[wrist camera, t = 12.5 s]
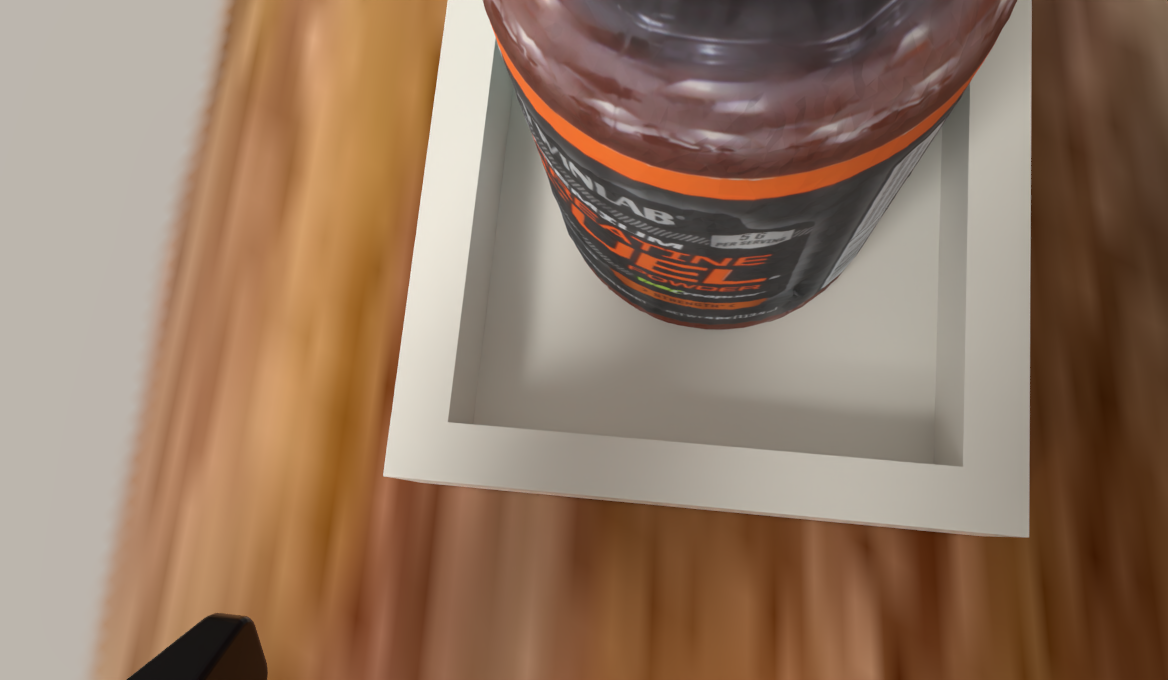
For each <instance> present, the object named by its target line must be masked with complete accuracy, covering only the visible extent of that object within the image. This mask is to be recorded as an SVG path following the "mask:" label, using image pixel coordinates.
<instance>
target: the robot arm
mask: <svg viewBox="0 0 1168 680" xmlns="http://www.w3.org/2000/svg"><path fill="white" fill-rule="evenodd" d="M267 674H268V672H267V663H266V660H265V656H264V653H263V650H262V647H261V644H260V640H259V637H258V634H257V631H256V627H255V625H254V622H253V621H252V620H251V619H250V618H249V617H247V616H240V615H232V614H224V613H215V614H212V615H210V616H208V617H206V618H204V619H203V620H201V621H200V622H199V623H198V624H196V625H195V626H194V627H193V628H191V629H190V630H189V631H188V632H186V633H185V634H184V635H182V636H181V637H180V638H179V639H177V640H176V641H175V642H174V643H172V644H171V645H170V646H169V647H167V648H166V649H165V650H164V651H162V652H161V653H160V654H158V655H157V656H156V657H155V658H153V659H152V660H151V661H150V662H148V663H147V664H146V665H145V666H143V667H142V668H141V669H139V670H138V671H137V672H136V673H134V674H133V675H132V676H131V677H129V678H128V679H127V680H267Z"/></svg>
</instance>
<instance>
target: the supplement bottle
mask: <svg viewBox="0 0 1168 680" xmlns="http://www.w3.org/2000/svg"><path fill="white" fill-rule="evenodd" d="M1016 2H1017V0H483V3H484V7H485V11H486V13H487V16H488V18H489V20H490V23H491V26H492V29H493V31H494V34H495V37H496V40H497V43H498V46H499V50H500V53H501V55H502V58H503V61H504V64H505V67H506V69H507V72H508V74H509V76H510V78H511V81H512V83H513V86H514V89H515V91H516V95H517V99H518V101H519V104H520V106H521V109H522V112H523V115H524V117H525V119H526V121H527V124H528V126H529V128H530V131H531V133H532V136H533V139H534V141H535V144H536V147H537V150H538V152H539V154H540V157H541V160H542V163H543V166H544V169H545V171H546V174H547V177H548V179H549V183H550V186H551V190H552V193H553V195H554V197H555V199H556V201H557V203H558V206H559V209H560V212H561V214H562V217H563V220H564V223H565V225H566V228H567V231H568V234H569V236H570V237H571V239H572V240H573V241H574V243H575V245H576V247H577V249H578V250H579V252H580V254H581V255H582V257H583V259H584V260H585V262H586V263H587V265H588V266H589V267H590V269H591V270H592V271H593V272H594V274H595V275H596V276H597V277H598V278H599V279H600V280H601V281H602V282H603V283H604V284H605V285H606V286H607V287H608V288H609V289H610V290H611V291H613V292H614V293H615V294H616V295H618V296H619V297H620V298H621V299H623V300H624V301H626V302H627V303H629V304H630V305H631V306H633V307H635V308H636V309H638V310H639V311H642V312H644V313H647V314H648V315H650V316H652V317H654V318H656V319H659V320H662V321H664V322H667V323H671V324H676V325H680V326H686V327H693V328H700V329H715V330H724V329H735V328H745V327H749V326H754V325H758V324H761V323H765V322H771V321H774V320H776V319H779V318H782V317H784V316H786V315H787V314H789V313H791V312H793V311H795V310H797V309H799V308H801V307H803V306H804V305H805V304H807V303H808V302H809V301H811V300H812V299H814V298H815V297H816V296H817V295H819V294H820V293H822V292H823V291H825V290H826V289H827V288H828V287H829V286H830V284H831V283H833V282H834V281H835V280H836V279H837V278H838V277H839V276H840V274H841V273H842V272H843V270H844V269H845V268H846V267H847V266H848V265H849V264H850V262H851V261H852V260H853V259H854V257H855V256H856V255H857V254H858V252H859V251H860V249H861V248H862V246H863V245H864V243H865V242H866V240H867V239H868V237H869V235H870V234H871V232H872V231H873V229H874V228H875V226H876V225H877V223H878V222H879V220H880V219H881V217H882V216H883V214H884V213H885V211H886V210H887V208H888V207H889V205H890V204H891V202H892V201H893V199H894V198H895V196H896V194H897V193H898V191H899V190H900V188H901V187H902V185H903V184H904V182H905V181H906V179H907V178H908V177H909V176H910V174H911V172H912V171H913V169H914V167H915V166H916V164H917V163H918V161H919V160H920V158H921V157H922V156H923V154H924V152H925V151H926V149H927V148H928V146H929V145H930V143H931V142H932V140H933V139H934V137H935V136H936V134H937V133H938V131H939V130H940V128H941V127H942V125H943V124H944V122H945V121H946V119H947V118H948V116H949V115H950V113H951V111H952V110H953V108H954V107H955V105H956V104H957V103H958V101H959V100H960V99H961V97H962V95H963V93H964V91H965V90H966V88H967V87H968V85H969V84H970V82H971V80H972V78H973V77H974V75H975V74H976V72H977V71H978V69H979V68H980V66H981V65H982V63H983V62H984V60H985V59H986V57H987V56H988V54H989V52H990V51H991V49H992V48H993V46H994V44H995V42H996V40H997V38H998V36H999V35H1000V33H1001V31H1002V29H1003V27H1004V26H1005V24H1006V23H1007V21H1008V20H1009V18H1010V16H1011V13H1012V11H1013V8H1014V6H1015V4H1016Z"/></svg>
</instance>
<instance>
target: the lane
mask: <svg viewBox="0 0 1168 680" xmlns="http://www.w3.org/2000/svg"><path fill="white" fill-rule="evenodd" d="M1031 55H1032V0H1017V2H1016V4H1015V6H1014V8H1013V11H1012V13H1011V16H1010V18H1009V20H1008V21H1007V23H1006V24H1005V26H1004V27H1003V29H1002V31H1001V33H1000V35H999V36H998V38H997V40H996V42H995V44H994V46H993V48H992V49H991V51H990V52H989V54H988V56H987V57H986V59H985V60H984V62H983V63H982V65H981V66H980V68H979V69H978V71H977V72H976V74H975V75H974V77H973V78H972V80H971V82H970V84H969V85H968V87H967V88H966V90H965V91H964V93H963V95H962V97H961V99H960V100H959V101H958V103H957V104H956V105H955V107H954V108H953V110H952V111H951V113H950V115H949V116H948V118H947V119H946V121H945V122H944V124H943V125H942V127H941V128H940V130H939V131H938V133H937V134H936V136H935V137H934V139H933V140H932V142H931V143H930V145H929V146H928V148H927V149H926V151H925V152H924V154H923V156H922V157H921V158H920V160H919V161H918V163H917V164H916V166H915V167H914V169H913V171H912V172H911V174H910V176H909V177H908V178H907V179H906V181H905V182H904V184H903V185H902V187H901V188H900V190H899V191H898V193H897V194H896V196H895V198H894V199H893V201H892V202H891V204H890V205H889V207H888V208H887V210H886V211H885V213H884V214H883V216H882V217H881V219H880V220H879V222H878V223H877V225H876V226H875V228H874V229H873V231H872V232H871V234H870V235H869V237H868V239H867V240H866V242H865V243H864V245H863V246H862V248H861V249H860V251H859V252H858V254H857V255H856V256H855V257H854V259H853V260H852V261H851V262H850V264H849V265H848V266H847V267H846V268H845V269H844V270H843V272H842V273H841V274H840V276H839V277H838V278H837V279H836V280H835V281H834V282H833V283H831V284H830V286H829V287H828V288H827V289H826V290H825V291H823V292H822V293H820V294H819V295H817V296H816V297H815V298H814V299H812V300H811V301H809V302H808V303H807V304H805V305H804V306H803V307H801V308H799V309H797V310H795V311H793V312H791V313H789V314H787V315H786V316H784V317H782V318H779V319H776V320H774V321H771V322H765V323H761V324H758V325H754V326H749V327H745V328H735V329H724V330H715V329H700V328H693V327H686V326H680V325H676V324H671V323H667V322H664V321H662V320H659V319H656V318H654V317H652V316H650V315H648V314H647V313H644V312H642V311H639V310H638V309H636V308H635V307H633V306H631V305H630V304H629V303H627V302H626V301H624V300H623V299H621V298H620V297H619V296H618V295H616V294H615V293H614V292H613V291H611V290H610V289H609V288H608V287H607V286H606V285H605V284H604V283H603V282H602V281H601V280H600V279H599V278H598V277H597V276H596V275H595V274H594V272H593V271H592V270H591V269H590V267H589V266H588V265H587V263H586V262H585V260H584V259H583V257H582V255H581V254H580V252H579V250H578V249H577V247H576V245H575V243H574V241H573V240H572V239H571V237H570V236H569V234H568V231H567V228H566V225H565V223H564V220H563V217H562V214H561V212H560V209H559V206H558V203H557V201H556V199H555V197H554V195H553V193H552V190H551V186H550V183H549V179H548V177H547V174H546V171H545V169H544V166H543V163H542V160H541V157H540V154H539V152H538V150H537V147H536V144H535V141H534V139H533V136H532V133H531V131H530V128H529V126H528V124H527V121H526V119H525V117H524V115H523V112H522V109H521V106H520V104H519V101H518V99H517V95H516V91H515V89H514V86H513V83H512V81H511V78H510V76H509V74H508V72H507V69H506V67H505V64H504V61H503V58H502V55H501V53H500V50H499V46H498V43H497V40H496V37H495V34H494V31H493V29H492V26H491V23H490V20H489V18H488V16H487V13H486V11H485V7H484V3H483V0H448V4H447V11H446V18H445V26H444V33H443V40H442V48H441V55H440V62H439V70H438V77H437V84H436V92H435V99H434V106H433V114H432V121H431V128H430V136H429V143H428V150H427V158H426V165H425V172H424V179H423V187H422V194H421V201H420V209H419V216H418V223H417V231H416V238H415V245H414V253H413V260H412V267H411V275H410V282H409V289H408V297H407V304H406V311H405V319H404V326H403V333H402V341H401V348H400V355H399V363H398V370H397V377H396V385H395V392H394V399H393V407H392V414H391V421H390V429H389V436H388V443H387V450H386V458H385V465H384V472H383V476H386V477H392V478H398V479H403V480H409V481H415V482H421V483H430V484H441V485H451V486H462V487H472V488H482V489H493V490H503V491H514V492H524V493H535V494H545V495H556V496H566V497H577V498H587V499H597V500H608V501H618V502H629V503H639V504H650V505H660V506H671V507H681V508H692V509H702V510H713V511H723V512H733V513H744V514H754V515H765V516H775V517H786V518H796V519H807V520H817V521H828V522H838V523H849V524H859V525H869V526H880V527H890V528H901V529H911V530H922V531H932V532H943V533H953V534H964V535H974V536H992V537H1028V538H1029V460H1030V257H1031Z"/></svg>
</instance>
